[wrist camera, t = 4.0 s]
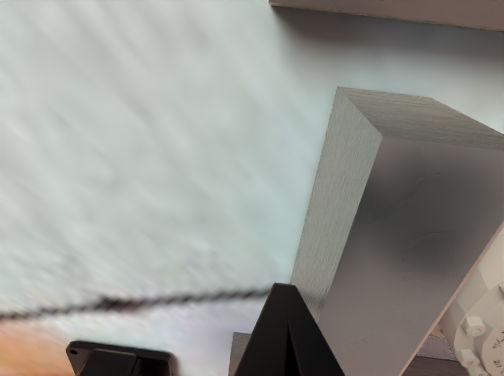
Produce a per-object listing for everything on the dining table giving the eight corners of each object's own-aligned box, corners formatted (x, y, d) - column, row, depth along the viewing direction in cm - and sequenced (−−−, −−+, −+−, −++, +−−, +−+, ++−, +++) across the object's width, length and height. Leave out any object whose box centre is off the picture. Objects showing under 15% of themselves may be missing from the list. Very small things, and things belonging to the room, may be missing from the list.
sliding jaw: (348, 328, 15) (373, 435, 11) (281, 319, 15) (283, 423, 11) (449, 99, 9) (580, 160, 5) (337, 86, 9) (382, 136, 5)
